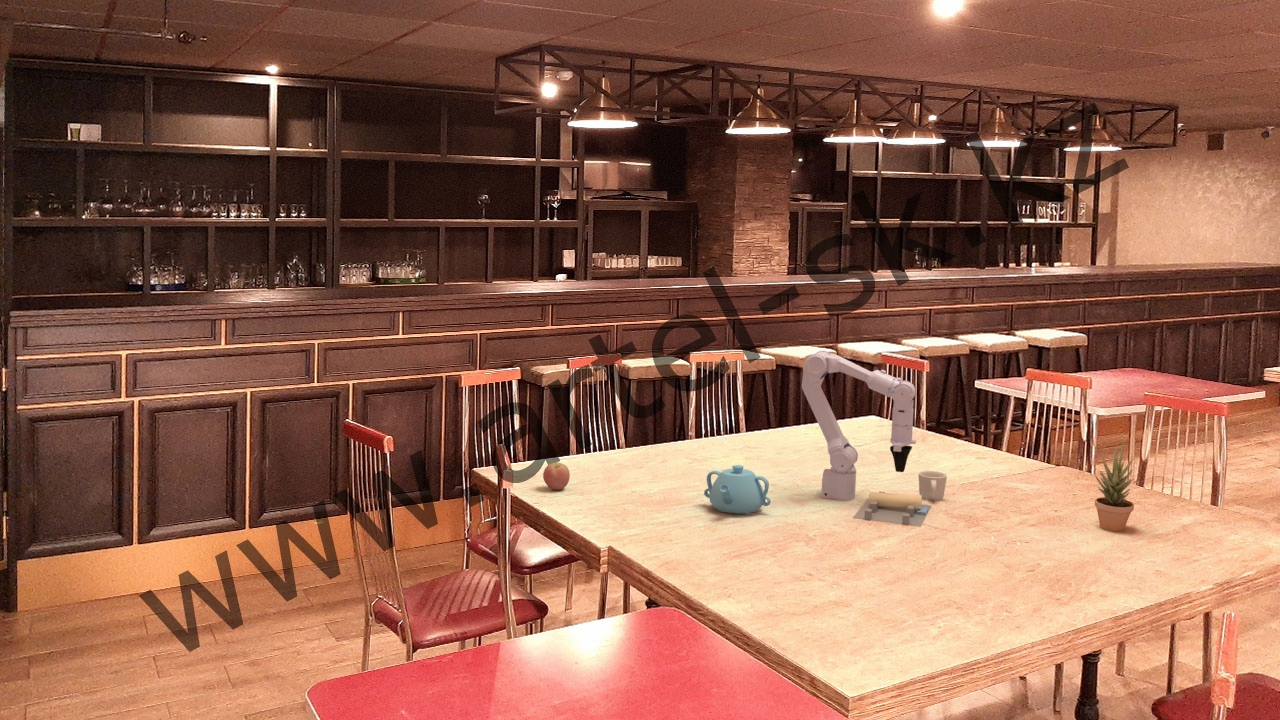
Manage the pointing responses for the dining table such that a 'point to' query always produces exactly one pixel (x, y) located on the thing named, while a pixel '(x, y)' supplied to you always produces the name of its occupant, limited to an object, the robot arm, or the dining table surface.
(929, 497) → the cup
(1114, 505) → the potted plant
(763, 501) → the teapot
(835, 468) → the robot arm
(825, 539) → the dining table surface
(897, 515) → the board
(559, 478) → the apple
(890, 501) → the tan tapered cylinder
